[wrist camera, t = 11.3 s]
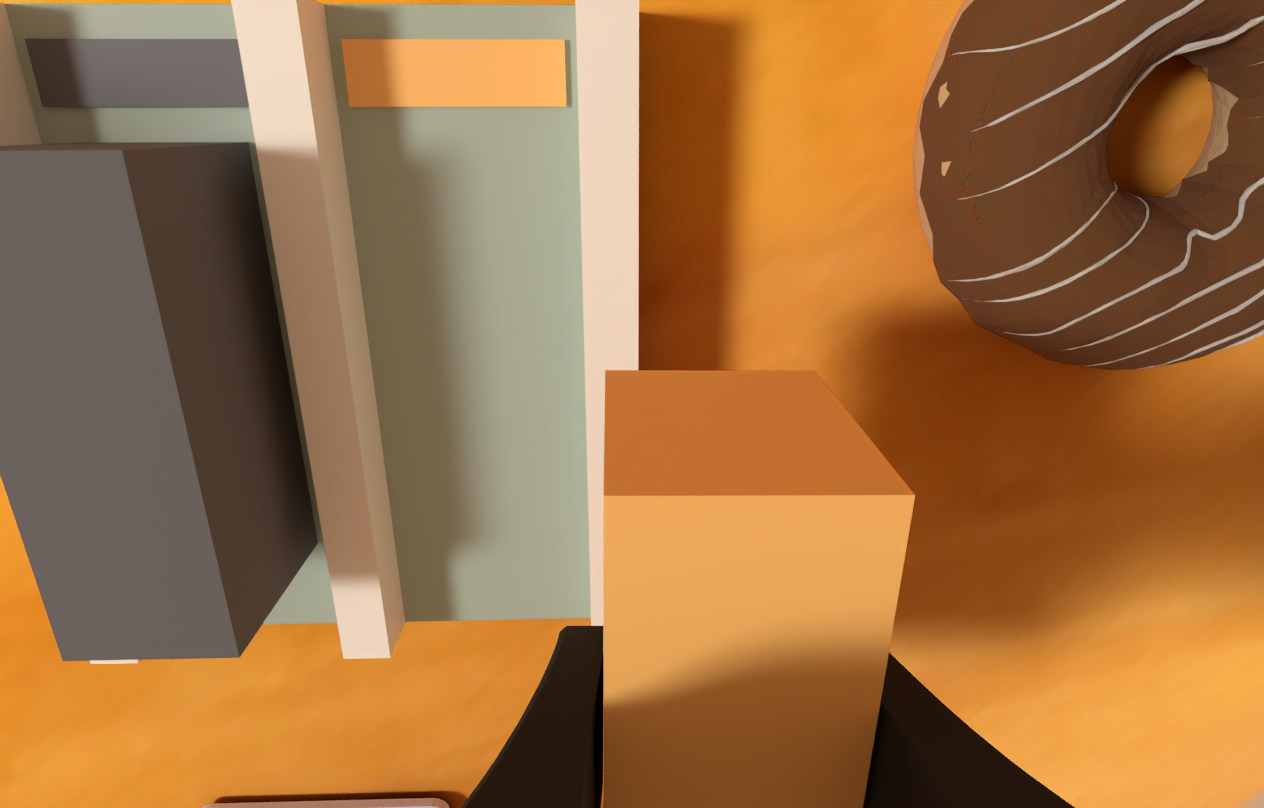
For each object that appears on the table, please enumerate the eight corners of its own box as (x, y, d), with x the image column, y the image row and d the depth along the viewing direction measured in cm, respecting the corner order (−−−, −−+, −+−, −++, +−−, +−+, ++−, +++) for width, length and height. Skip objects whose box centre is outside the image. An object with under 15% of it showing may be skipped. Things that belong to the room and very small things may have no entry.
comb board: (635, 595, 22) (637, 652, 19) (147, 604, 21) (90, 664, 19) (635, 11, 16) (638, -7, 14) (-18, 10, 16) (-125, -9, 14)
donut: (916, -139, 16) (1010, -218, 12) (1403, -134, 16) (1644, -211, 12) (861, 348, 20) (921, 402, 16) (1256, 344, 20) (1406, 397, 16)
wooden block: (768, 802, 16) (823, 1038, 12) (605, 804, 16) (604, 1043, 12) (815, 370, 13) (915, 494, 9) (604, 369, 13) (603, 496, 9)
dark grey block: (317, 542, 20) (239, 657, 16) (179, 545, 20) (62, 661, 15) (248, 142, 16) (122, 150, 12) (79, 142, 16) (-109, 151, 12)
